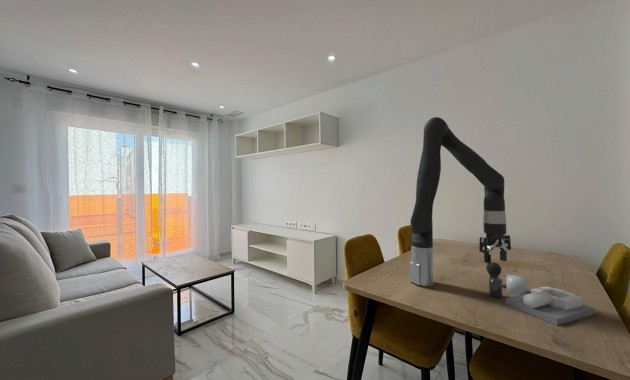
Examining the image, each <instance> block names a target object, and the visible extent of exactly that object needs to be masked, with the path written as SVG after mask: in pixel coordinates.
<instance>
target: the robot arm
mask: <svg viewBox="0 0 630 380" xmlns="http://www.w3.org/2000/svg"><path fill="white" fill-rule="evenodd" d="M422 140H423V142H422V144H423V145H422V151H421V155H420V162H419V167H418V172H417V179H416V187H415V189H416V193H415V203H414V207H413V211H412V214H411V215H412V216H410V217H411V218H410V226H411V230H410V231H411V239H410V244H411V245H410V246H411V248H410V249H411V252H410V253H411V254H410V255H411V256H410V257H411V261H410V262H409V282H410V281H412V282H413V283H415V284H417V285H419V286H418V287H431V286H434V243H433V242H434V241H433V240H434V239H433V237H434V233H433V232H434V231H433V229H434V228H433V227H434V226H433V207H434V201H435V198H436V196H437V192H438V188H439V183H440V180H441V173H442V172H441V171H442V170H441V169H442V161H441V160H442V159H441V150H442V147H443V148H445V150H447V151H448V152H449V153H450V154H451V155H452V156H453V157H454V158H455V159H456V161H457V162H459V164H460V165H461V166H462V167H464V169H466V171H468V172H469V173H471V175H473V176H474V178H476V179H477V180H478V182H480V184H481V185H483V189H484V198H483V214H482V215H483V216H482V217H483V218H482V219H483V221H482V223H483V233H484V234H485V237H484V236H483V237H482V236H480V237H479V248H478V249H479V253H483V259H484V260H483V261H484V263H485V264H491V262H492V252H493V251H494V250H495V249H496V248H498V249H499V260H500V261H502V262H507V259H508V258H507V257H508V255H507V253H508V251H511V250H512V246H511V245H512V244H511V242H512V241H511V235H510V234H509V235H508V234H507V214H506V201H505V178H504V176H503V174H502V173H500V172H498V170H496V169H495V168H493V166H491V165H490V164H489V163H488V162H487V161H486V160H485V159H484V158H483V157H482V156H480V154H479V153H477V152H476V151H475V150H474V149H472V148H471V147H469V146H468V145H467V144H465V143H464V142H463V141H461V140H460V139H459V137H457V136H456V135H455V134H454V132H453V131H452V130H451V129H450V128H449V125H448V123H447V122H446V121H445V119H443V118H441V117H438V116H435V117H431V118H429V119H428V120H427V122H425V124H424V127H423V139H422ZM413 283H412V284H413ZM415 284H414V285H415ZM417 285H416V286H417ZM420 285H422V286H420Z"/></svg>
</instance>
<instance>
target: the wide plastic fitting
mask: <svg viewBox="0 0 630 380" xmlns="http://www.w3.org/2000/svg"><path fill="white" fill-rule="evenodd" d="M505 277H506V279H505V281H506V292H508V293H510V294H512V295H515V296H520V295H524V294H528V278H527V277H524V276H523V275H522V276H521V275H517V274H507V275H506V276H505Z"/></svg>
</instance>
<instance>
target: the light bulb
mask: <svg viewBox="0 0 630 380" xmlns="http://www.w3.org/2000/svg"><path fill="white" fill-rule="evenodd" d="M485 267H486V271H487V272H486V273H488V275H489V278H490V277H496V278H499V276H500V275H501V272H502V266H501V265H500V264H499V263H497V262H494V261H491V264H488V263H486V266H485Z"/></svg>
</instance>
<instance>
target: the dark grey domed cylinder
mask: <svg viewBox="0 0 630 380" xmlns="http://www.w3.org/2000/svg"><path fill="white" fill-rule="evenodd" d="M488 294H489V295H488V296H489V297H491V298H493V299H497V300H498V299H499V300H501V299H503V279H502V278H500V277H498V278H496V277H490V276H489V277H488Z"/></svg>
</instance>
